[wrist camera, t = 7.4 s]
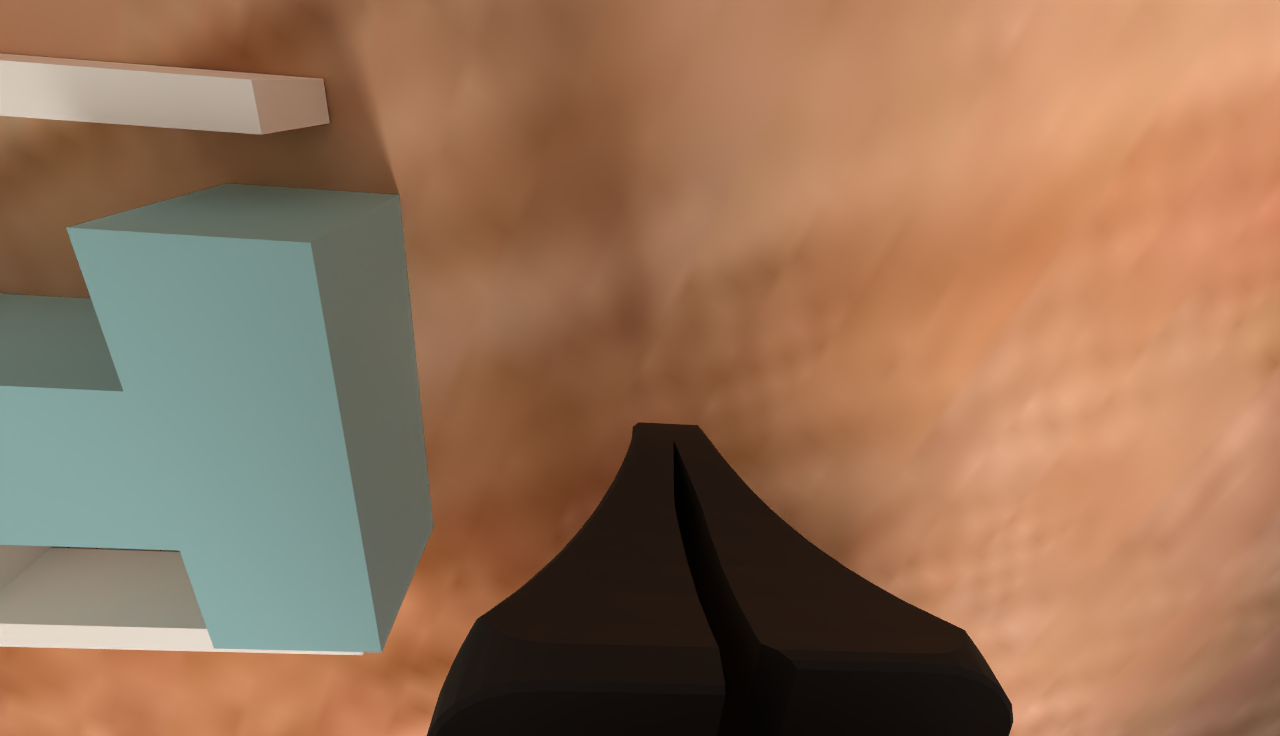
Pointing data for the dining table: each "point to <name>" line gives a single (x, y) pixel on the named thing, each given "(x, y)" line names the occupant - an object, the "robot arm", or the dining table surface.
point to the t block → (230, 409)
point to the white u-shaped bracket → (130, 579)
